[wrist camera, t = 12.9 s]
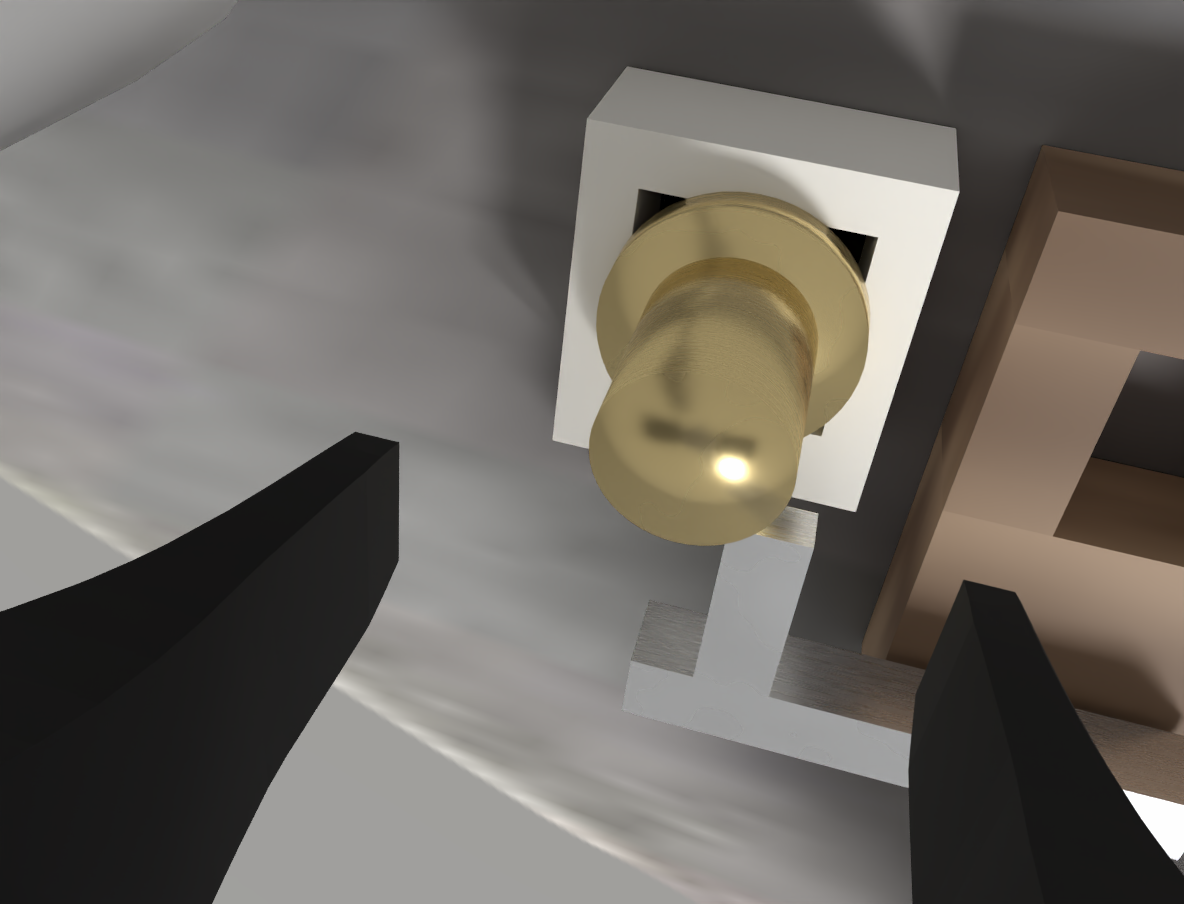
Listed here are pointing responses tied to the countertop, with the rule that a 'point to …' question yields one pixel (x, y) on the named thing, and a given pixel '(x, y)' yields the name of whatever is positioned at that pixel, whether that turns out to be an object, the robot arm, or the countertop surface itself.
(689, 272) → the peg
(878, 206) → the white block with hole
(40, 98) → the chalice
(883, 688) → the bar
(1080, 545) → the socket block
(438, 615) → the countertop surface
